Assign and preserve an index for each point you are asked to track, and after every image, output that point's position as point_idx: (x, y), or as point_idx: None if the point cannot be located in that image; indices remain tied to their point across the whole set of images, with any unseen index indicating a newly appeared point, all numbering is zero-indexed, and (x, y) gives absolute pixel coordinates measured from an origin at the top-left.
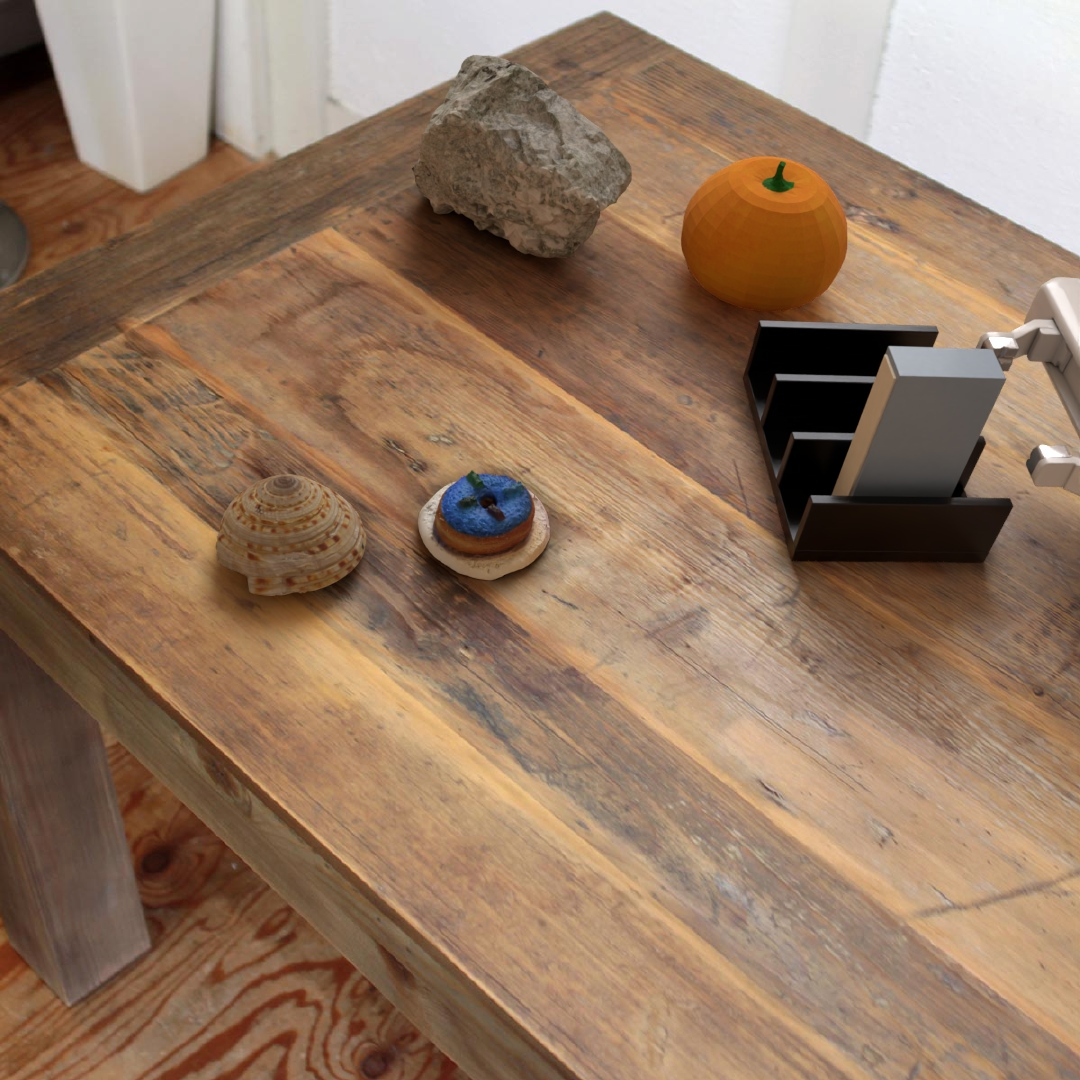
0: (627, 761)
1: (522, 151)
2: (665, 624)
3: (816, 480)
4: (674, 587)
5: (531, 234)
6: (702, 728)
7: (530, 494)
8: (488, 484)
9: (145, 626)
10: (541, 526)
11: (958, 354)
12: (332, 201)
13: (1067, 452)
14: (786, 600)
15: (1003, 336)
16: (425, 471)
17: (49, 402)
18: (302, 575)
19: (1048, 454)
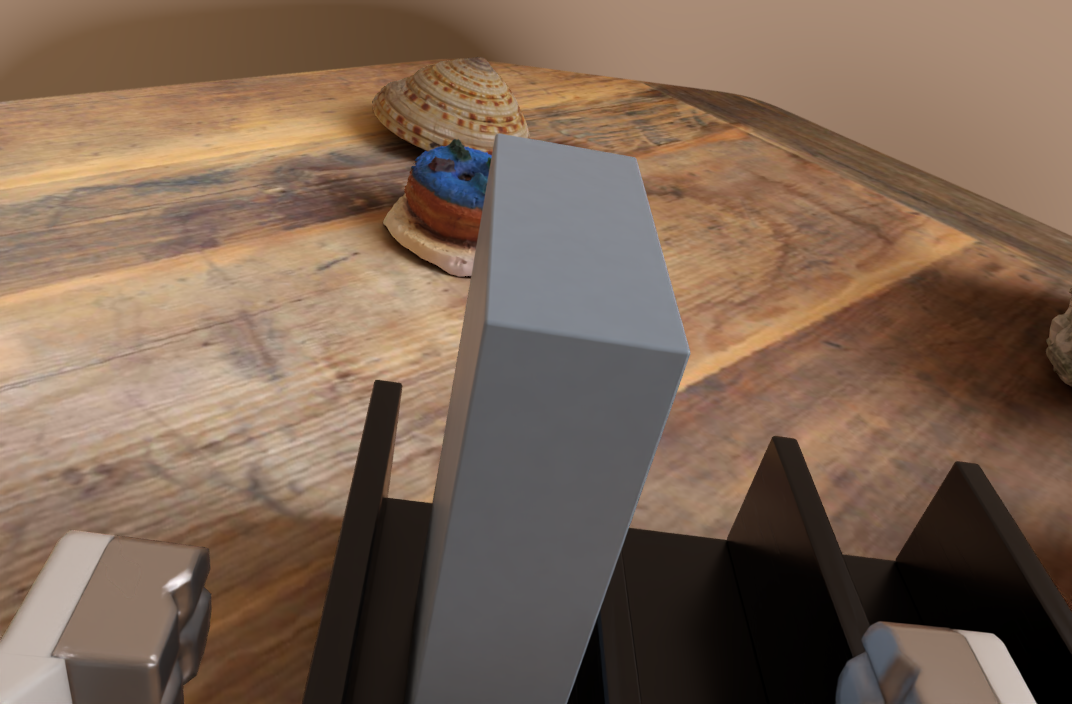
0: (34, 249)
1: None
2: (259, 333)
3: None
4: (332, 359)
5: (1063, 317)
6: (38, 319)
7: None
8: None
9: (367, 79)
10: (460, 255)
11: (629, 259)
12: (1029, 249)
13: (101, 652)
14: (260, 485)
15: (1001, 693)
16: None
17: (628, 89)
18: (384, 96)
19: (123, 555)
